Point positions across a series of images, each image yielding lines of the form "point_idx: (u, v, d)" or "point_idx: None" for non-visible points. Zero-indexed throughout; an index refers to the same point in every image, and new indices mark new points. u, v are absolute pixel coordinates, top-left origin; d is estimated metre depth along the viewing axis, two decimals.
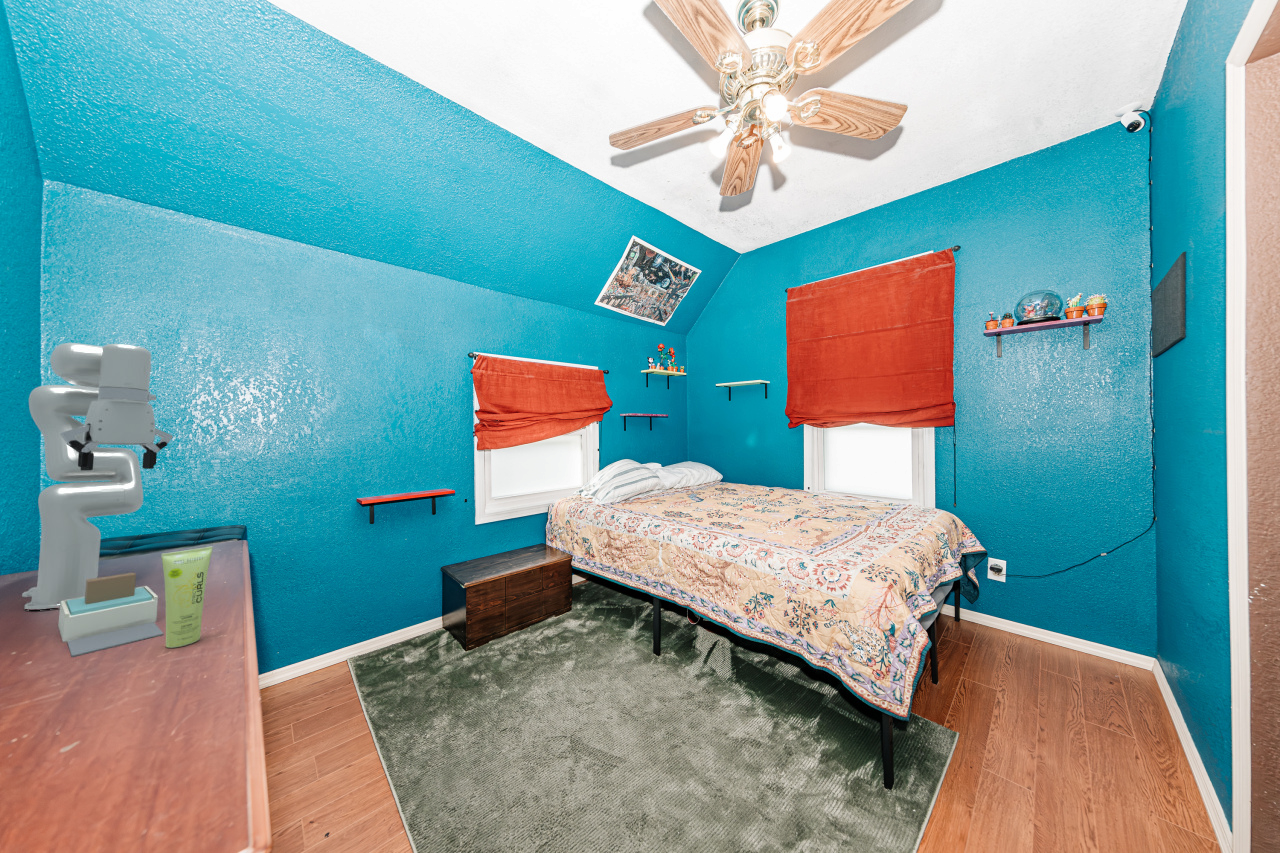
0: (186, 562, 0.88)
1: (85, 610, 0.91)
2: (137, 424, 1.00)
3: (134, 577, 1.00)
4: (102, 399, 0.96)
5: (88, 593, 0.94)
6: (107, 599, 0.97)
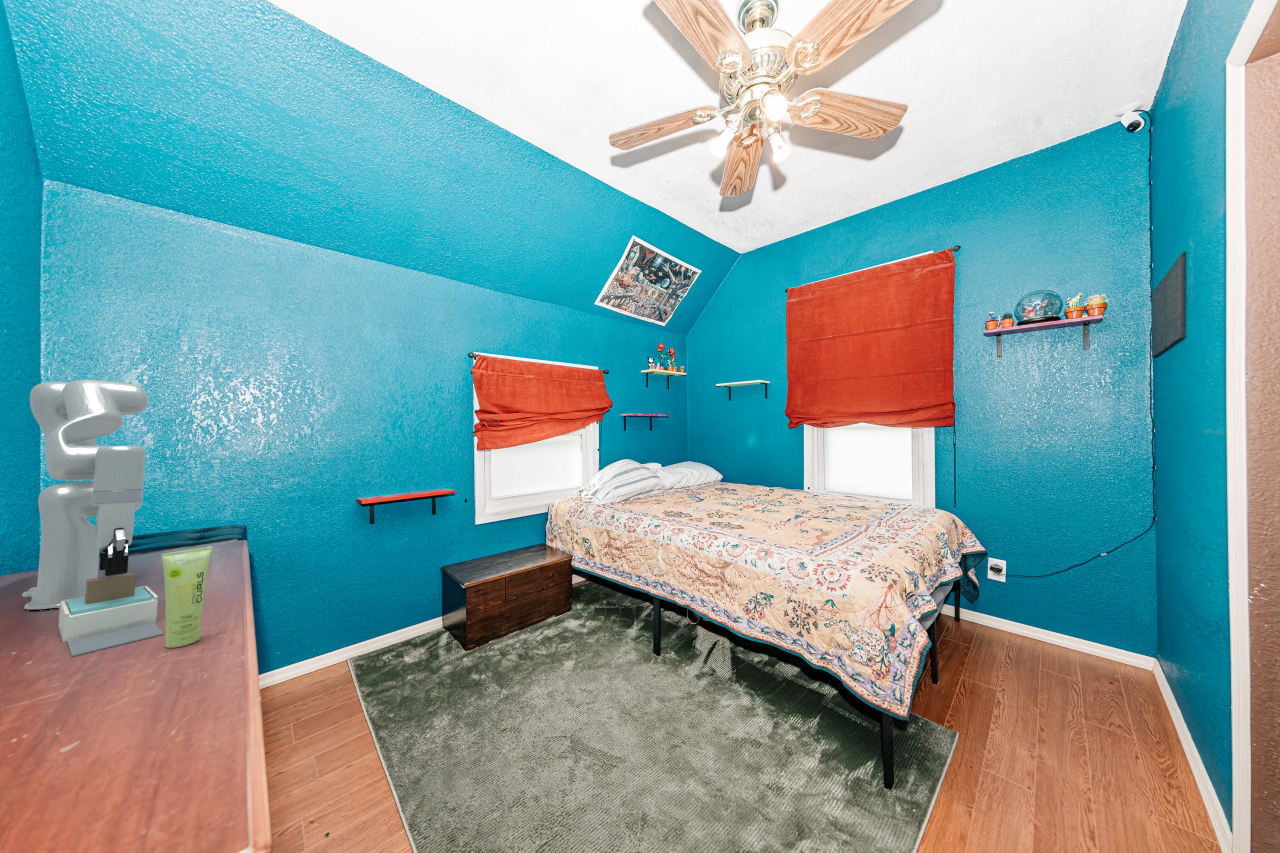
0: (186, 562, 0.88)
1: (85, 610, 0.91)
2: None
3: (134, 577, 1.00)
4: (126, 502, 0.98)
5: (88, 593, 0.94)
6: (107, 599, 0.97)
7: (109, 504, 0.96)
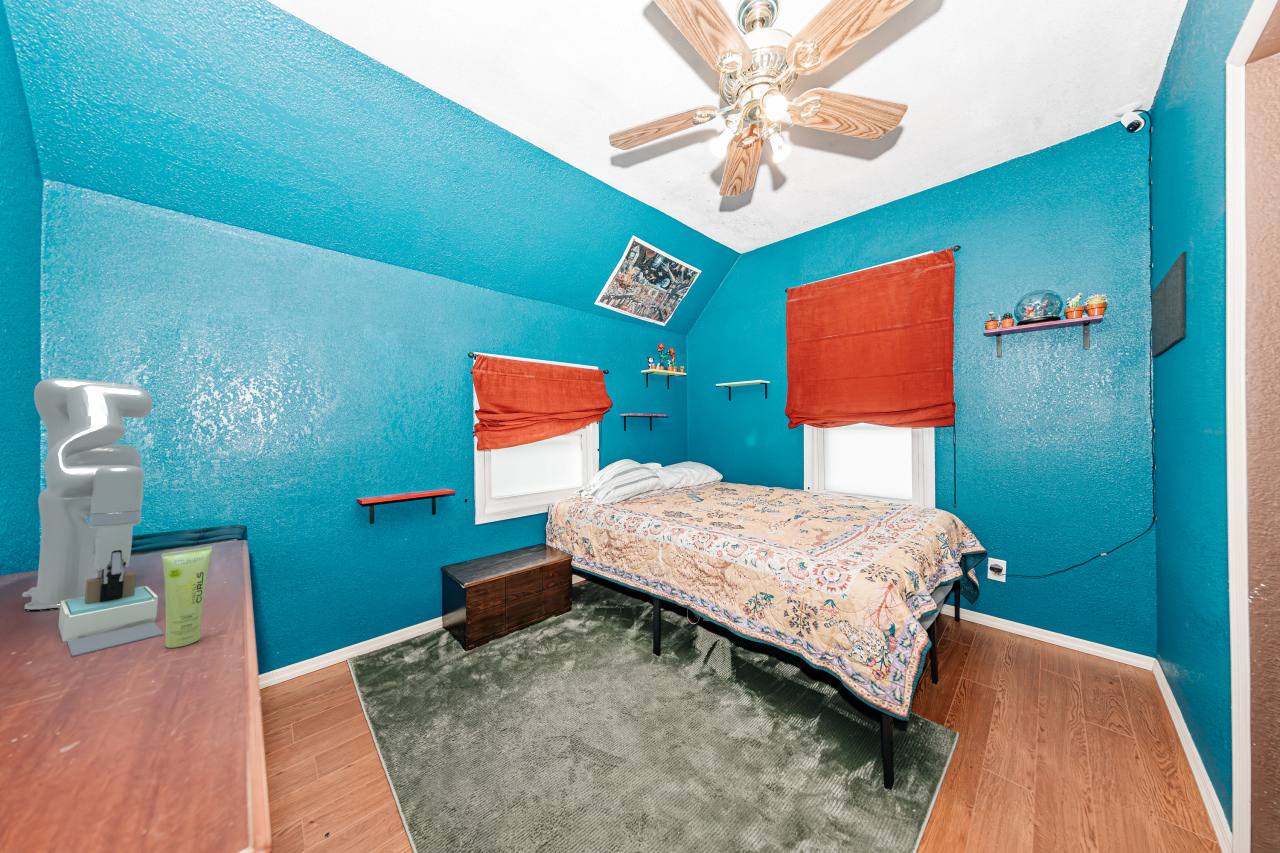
0: (186, 562, 0.88)
1: (85, 610, 0.91)
2: None
3: (134, 577, 1.00)
4: (124, 524, 0.98)
5: (88, 593, 0.94)
6: None
7: (107, 526, 0.96)
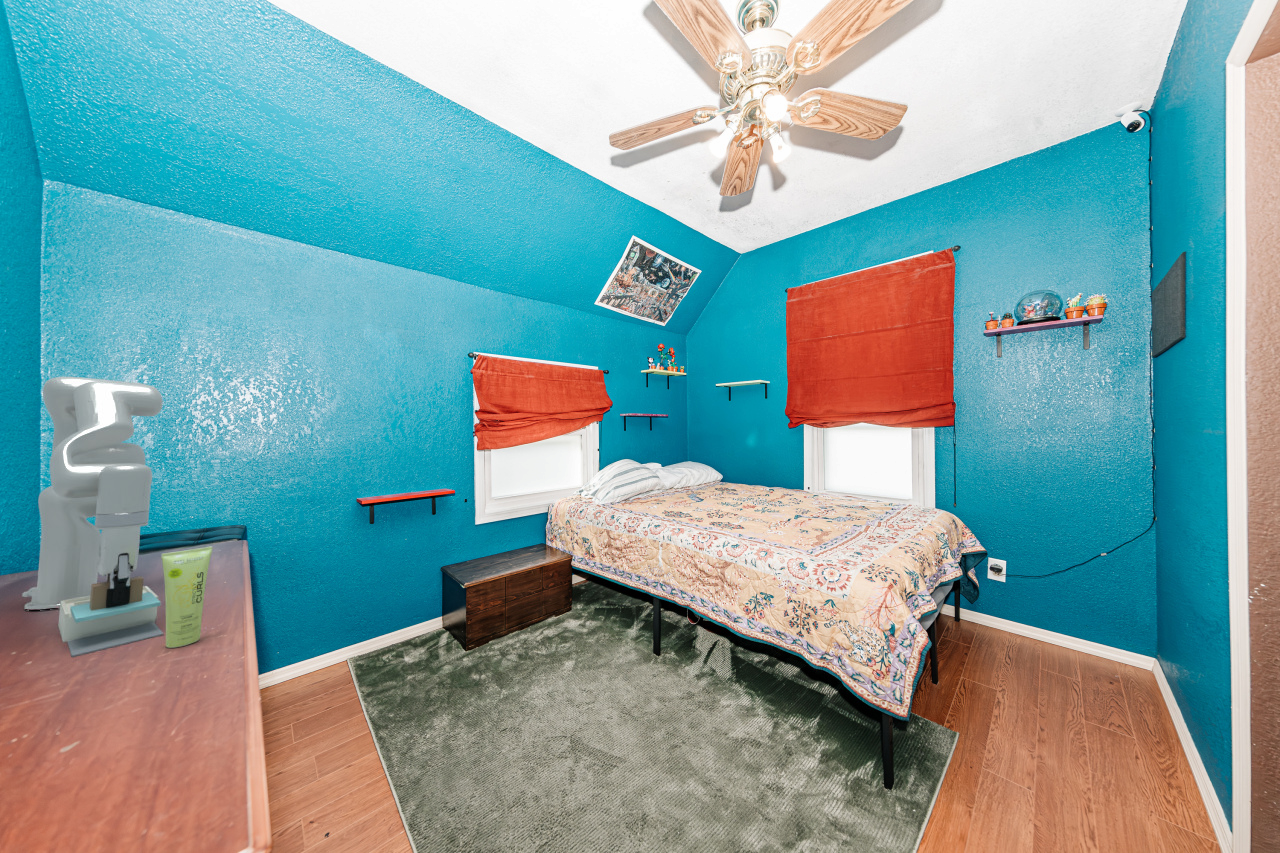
0: (186, 562, 0.88)
1: (90, 617, 0.86)
2: None
3: (142, 581, 0.95)
4: (131, 525, 0.93)
5: (93, 598, 0.89)
6: None
7: (113, 528, 0.90)
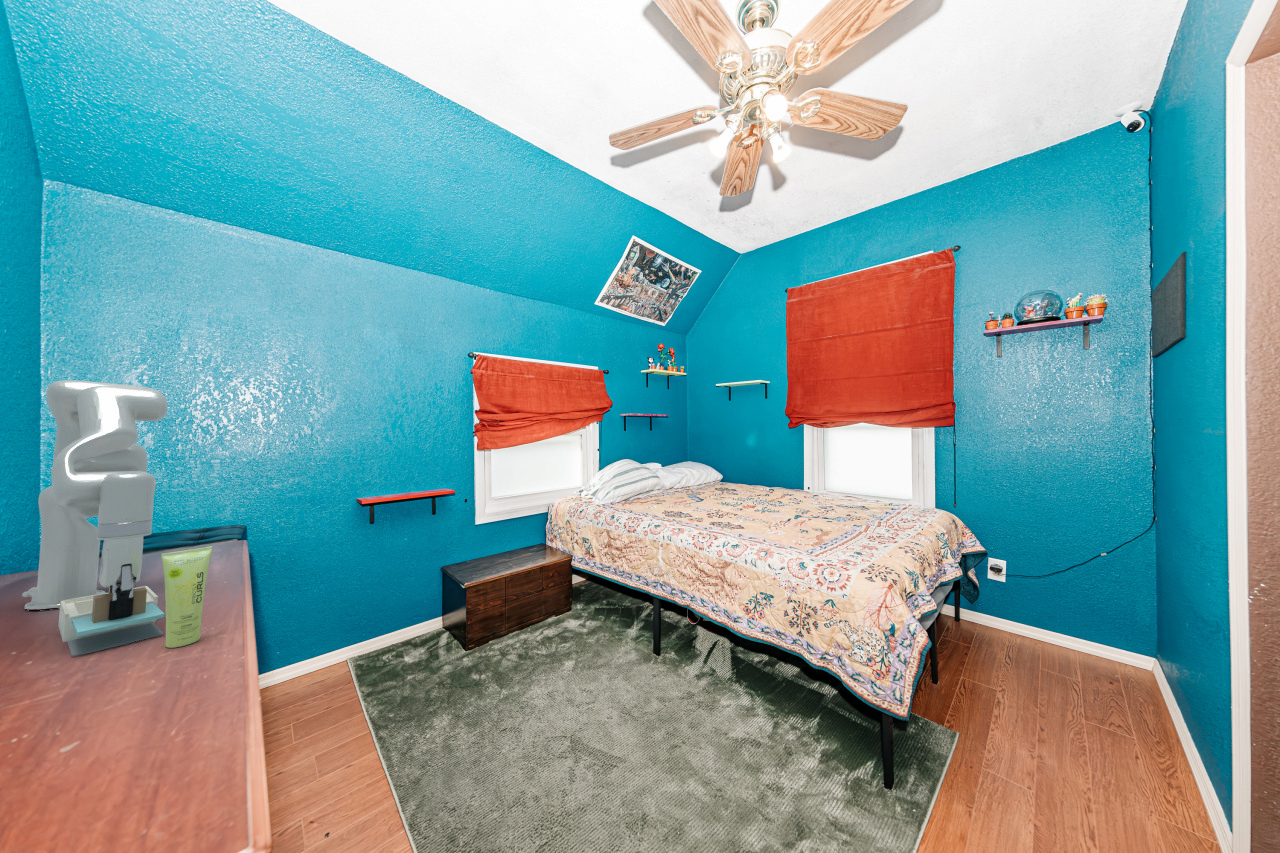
0: (186, 562, 0.88)
1: (93, 630, 0.84)
2: None
3: (145, 592, 0.92)
4: (134, 535, 0.90)
5: (95, 611, 0.87)
6: None
7: (116, 538, 0.88)
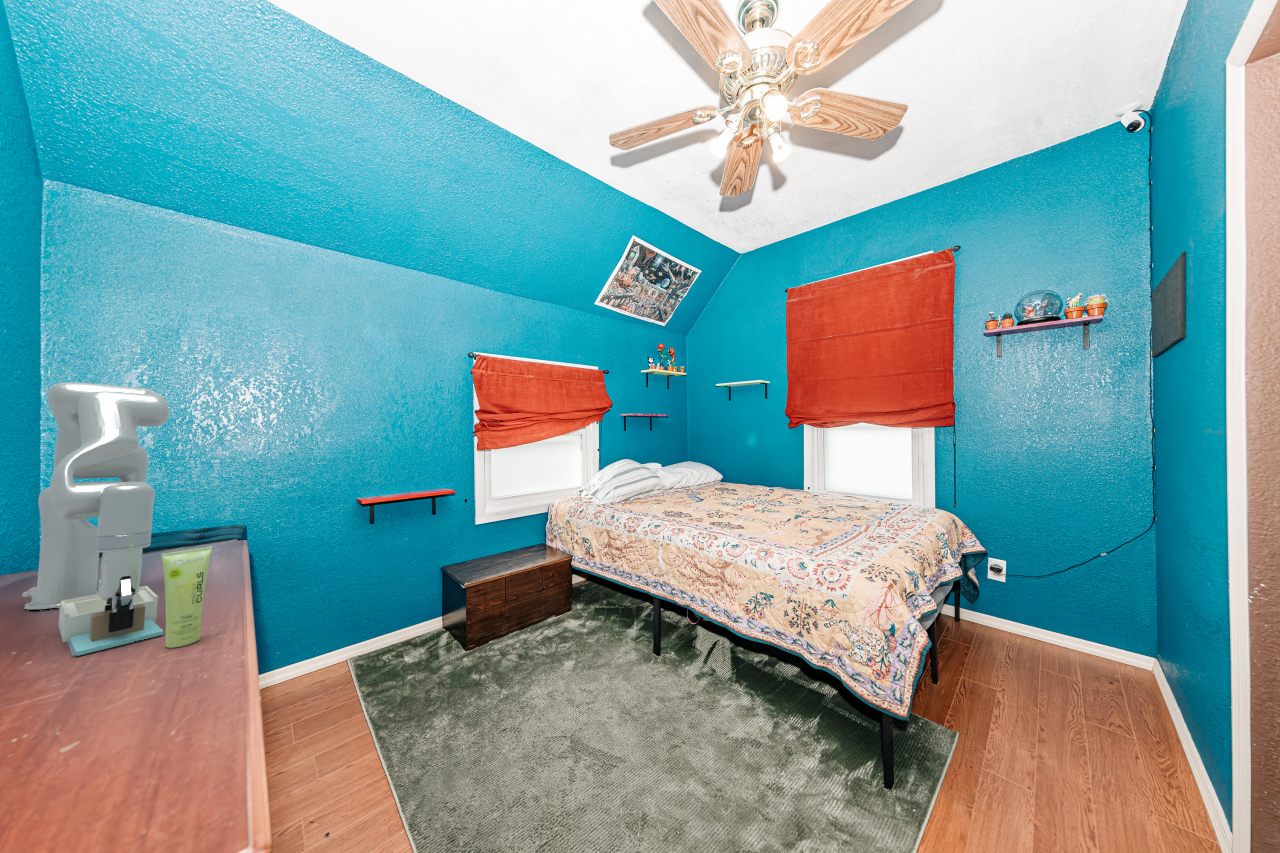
0: (186, 562, 0.88)
1: (91, 649, 0.83)
2: None
3: (143, 609, 0.92)
4: (133, 547, 0.90)
5: (94, 629, 0.87)
6: (114, 635, 0.89)
7: (115, 550, 0.88)
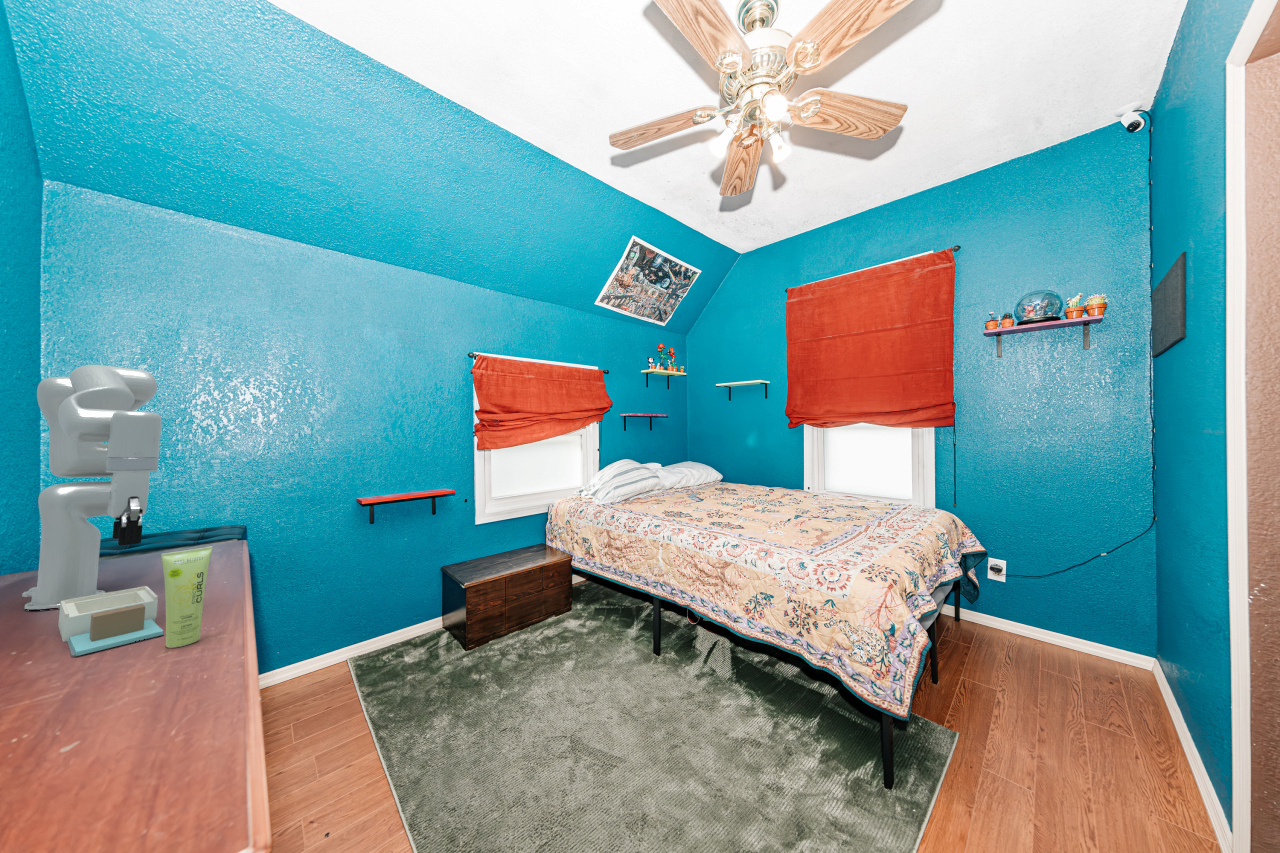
0: (186, 562, 0.88)
1: (91, 649, 0.83)
2: None
3: (143, 609, 0.92)
4: (141, 470, 0.94)
5: (94, 629, 0.87)
6: (114, 635, 0.89)
7: (124, 471, 0.92)
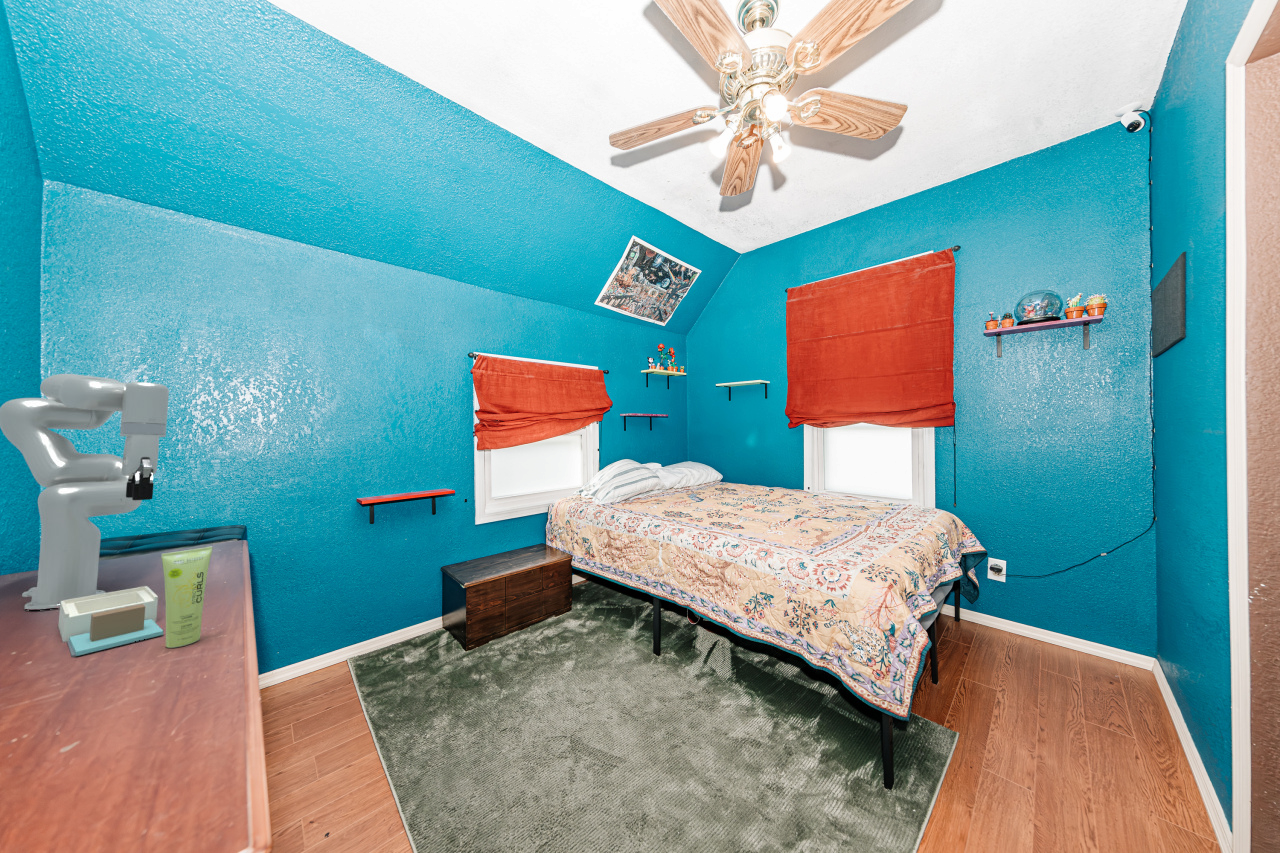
0: (186, 562, 0.88)
1: (91, 649, 0.83)
2: None
3: (143, 609, 0.92)
4: (151, 434, 1.06)
5: (94, 629, 0.87)
6: (114, 635, 0.89)
7: (136, 435, 1.04)
